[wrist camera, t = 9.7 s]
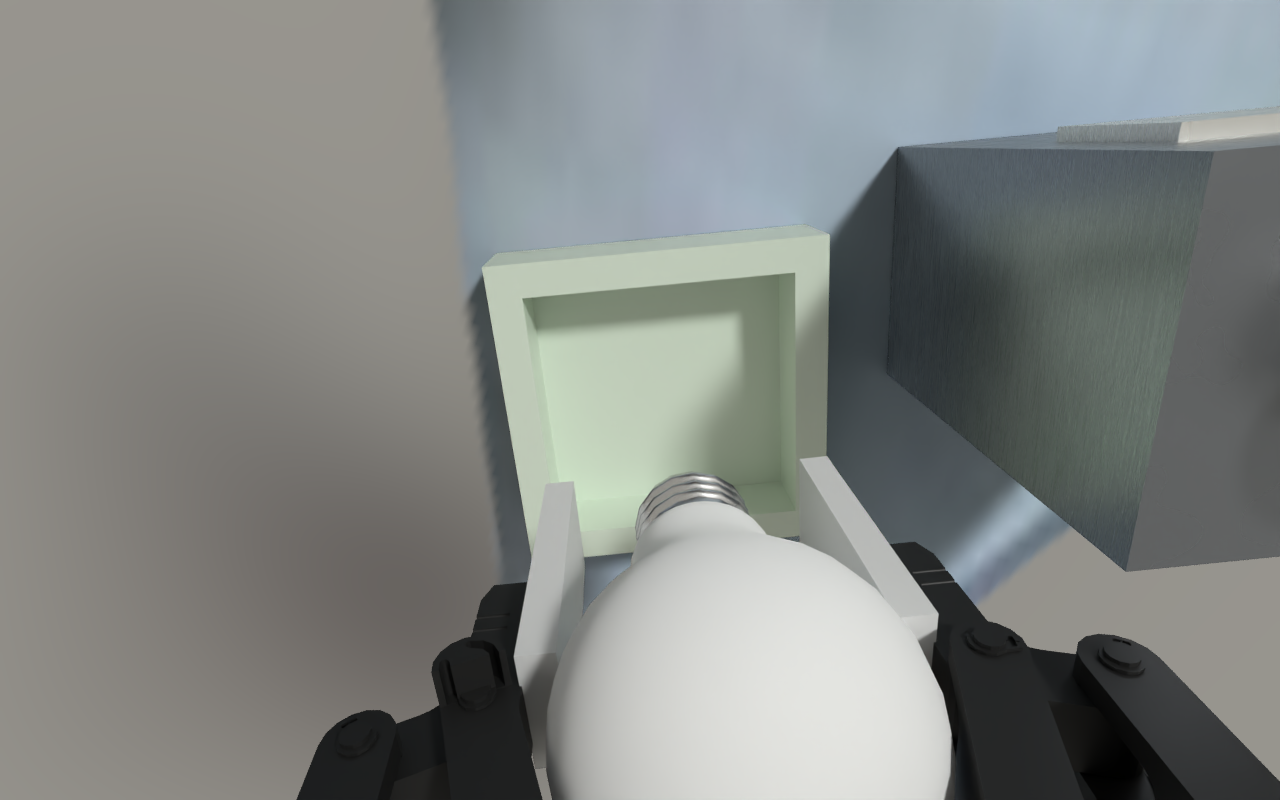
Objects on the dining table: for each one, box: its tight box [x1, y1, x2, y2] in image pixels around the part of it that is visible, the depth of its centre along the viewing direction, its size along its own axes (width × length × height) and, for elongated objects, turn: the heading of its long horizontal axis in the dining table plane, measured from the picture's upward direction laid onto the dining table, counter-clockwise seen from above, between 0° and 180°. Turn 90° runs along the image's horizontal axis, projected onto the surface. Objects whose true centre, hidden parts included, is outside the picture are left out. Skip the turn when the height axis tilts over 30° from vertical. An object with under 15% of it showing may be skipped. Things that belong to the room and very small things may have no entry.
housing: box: [887, 106, 1280, 572], centre depth 19 cm, size 9×11×16 cm
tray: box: [482, 224, 830, 557], centre depth 27 cm, size 12×12×3 cm
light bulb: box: [546, 471, 956, 800], centre depth 13 cm, size 7×7×11 cm
